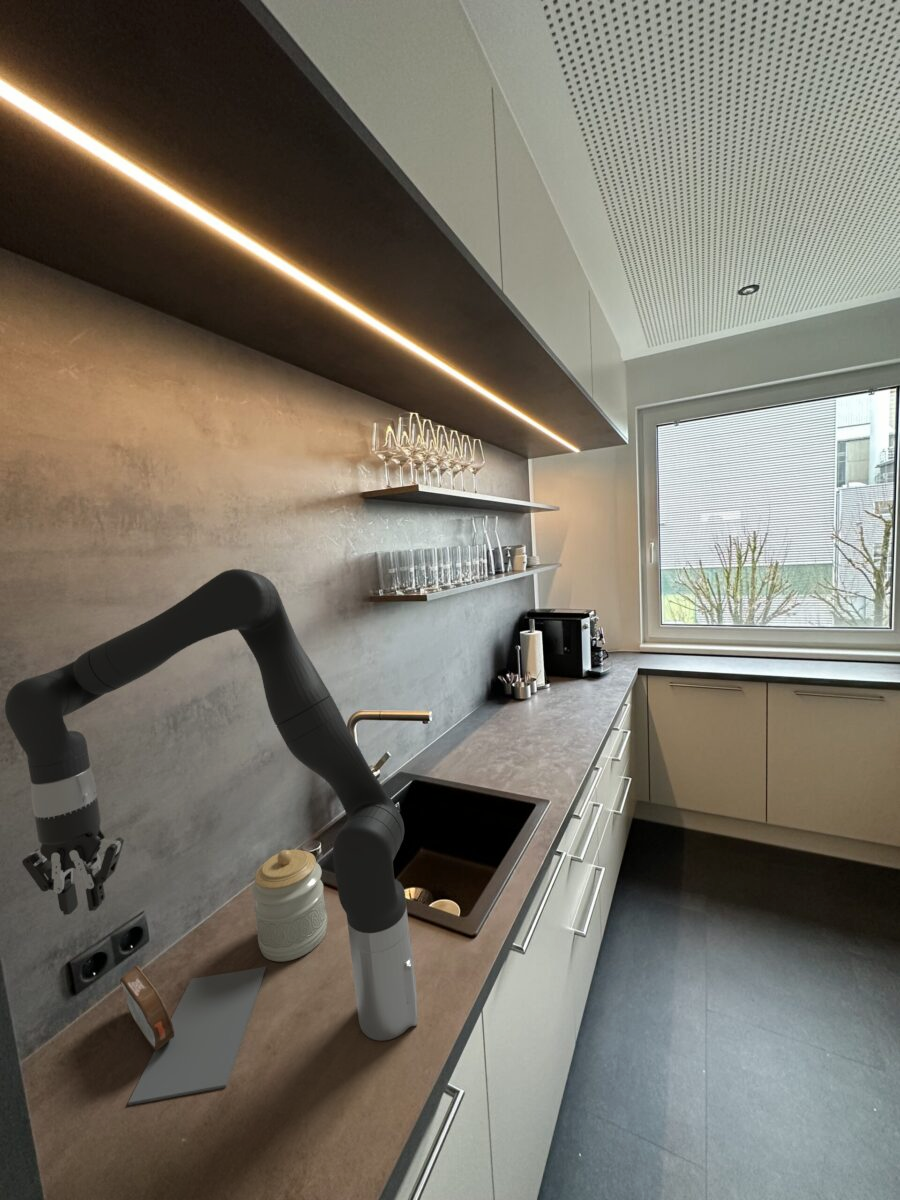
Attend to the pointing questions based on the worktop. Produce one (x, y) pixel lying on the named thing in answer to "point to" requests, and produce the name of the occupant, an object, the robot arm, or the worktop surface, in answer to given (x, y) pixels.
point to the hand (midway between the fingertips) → (83, 908)
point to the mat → (202, 1037)
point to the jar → (289, 905)
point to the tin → (147, 1008)
